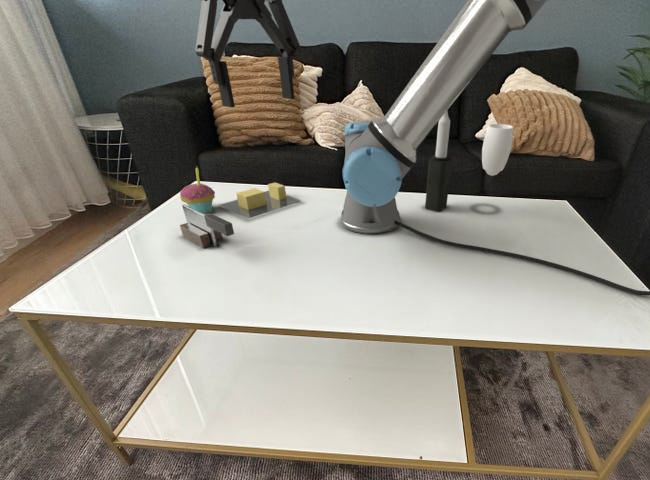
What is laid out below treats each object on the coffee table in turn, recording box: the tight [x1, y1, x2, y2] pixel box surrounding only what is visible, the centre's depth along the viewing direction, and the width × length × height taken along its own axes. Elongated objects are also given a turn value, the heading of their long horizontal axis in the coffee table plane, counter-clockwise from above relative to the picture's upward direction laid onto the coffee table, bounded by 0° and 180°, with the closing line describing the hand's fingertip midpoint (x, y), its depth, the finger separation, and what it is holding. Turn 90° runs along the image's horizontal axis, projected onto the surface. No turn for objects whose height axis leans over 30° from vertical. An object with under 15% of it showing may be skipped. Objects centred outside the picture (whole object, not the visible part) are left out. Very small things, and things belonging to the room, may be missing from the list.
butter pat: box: [267, 182, 287, 200], centre depth 116 cm, size 4×2×4 cm, turn 49°
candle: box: [424, 110, 453, 212], centre depth 107 cm, size 5×5×25 cm
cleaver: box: [181, 203, 235, 248], centre depth 92 cm, size 19×2×8 cm, turn 49°
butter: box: [235, 187, 267, 210], centre depth 111 cm, size 4×6×4 cm
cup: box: [481, 123, 514, 177], centre depth 108 cm, size 7×7×21 cm
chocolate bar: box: [179, 222, 223, 249], centre depth 95 cm, size 9×5×3 cm, turn 49°
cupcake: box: [179, 167, 216, 214], centre depth 106 cm, size 9×8×12 cm
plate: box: [218, 190, 302, 219], centre depth 114 cm, size 14×18×1 cm
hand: (260, 102), depth 76 cm, fingers open, 13 cm apart
